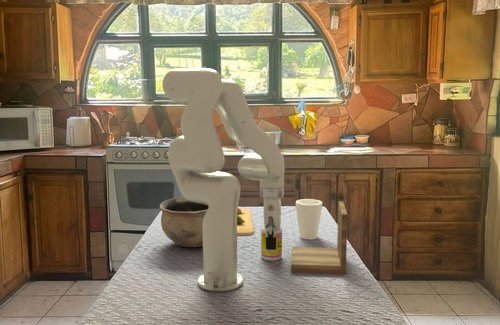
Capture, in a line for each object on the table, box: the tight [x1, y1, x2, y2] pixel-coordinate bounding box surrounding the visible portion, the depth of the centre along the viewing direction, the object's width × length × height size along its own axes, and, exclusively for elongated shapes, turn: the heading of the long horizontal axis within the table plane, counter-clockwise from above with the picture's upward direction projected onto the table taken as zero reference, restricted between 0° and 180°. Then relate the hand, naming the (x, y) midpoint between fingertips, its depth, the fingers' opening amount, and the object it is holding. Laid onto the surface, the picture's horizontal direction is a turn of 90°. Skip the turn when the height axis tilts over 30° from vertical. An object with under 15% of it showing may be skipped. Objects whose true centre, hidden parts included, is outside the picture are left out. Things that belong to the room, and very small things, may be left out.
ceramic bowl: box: [159, 196, 209, 248], centre depth 175 cm, size 22×22×15 cm
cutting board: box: [237, 207, 254, 236], centre depth 203 cm, size 35×23×8 cm
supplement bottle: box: [260, 225, 283, 262], centre depth 161 cm, size 7×7×13 cm
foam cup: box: [295, 198, 323, 241], centre depth 183 cm, size 10×9×13 cm
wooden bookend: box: [290, 200, 348, 275], centre depth 156 cm, size 16×16×18 cm
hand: (271, 244), depth 162 cm, fingers open, 9 cm apart
